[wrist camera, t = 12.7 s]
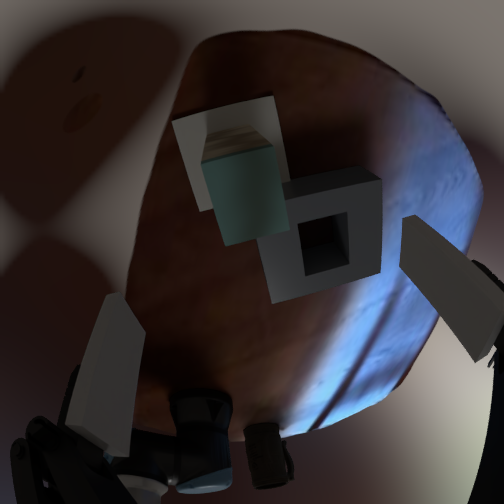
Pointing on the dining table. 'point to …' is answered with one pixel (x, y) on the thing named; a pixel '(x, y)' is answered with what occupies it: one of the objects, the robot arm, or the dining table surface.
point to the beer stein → (267, 456)
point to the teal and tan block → (244, 184)
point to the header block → (344, 233)
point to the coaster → (222, 118)
